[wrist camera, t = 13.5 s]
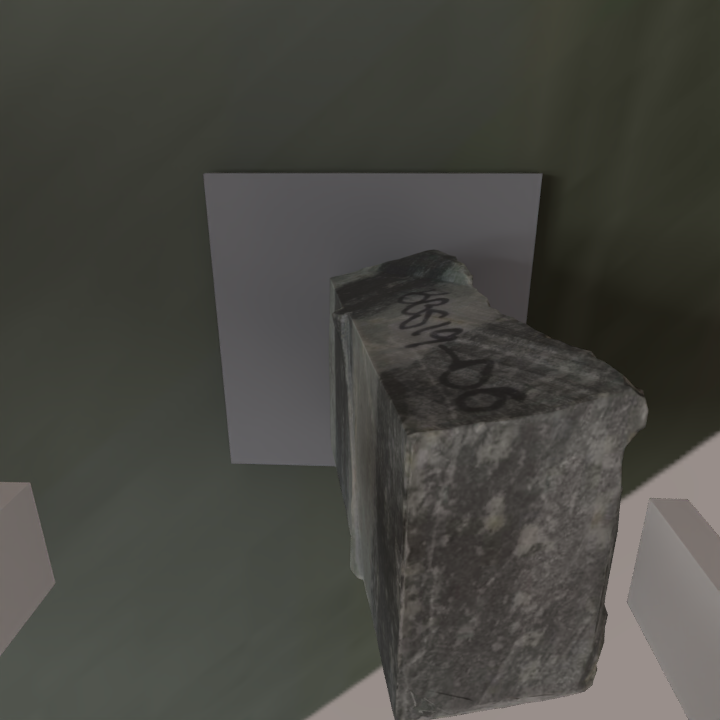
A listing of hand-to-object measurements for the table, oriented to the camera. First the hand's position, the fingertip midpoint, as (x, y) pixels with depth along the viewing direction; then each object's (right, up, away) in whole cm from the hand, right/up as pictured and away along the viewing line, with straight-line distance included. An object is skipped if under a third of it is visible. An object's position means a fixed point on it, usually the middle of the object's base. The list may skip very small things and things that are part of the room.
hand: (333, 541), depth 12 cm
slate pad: (+1, +5, +14) cm, 15 cm away
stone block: (+3, +5, +13) cm, 15 cm away
